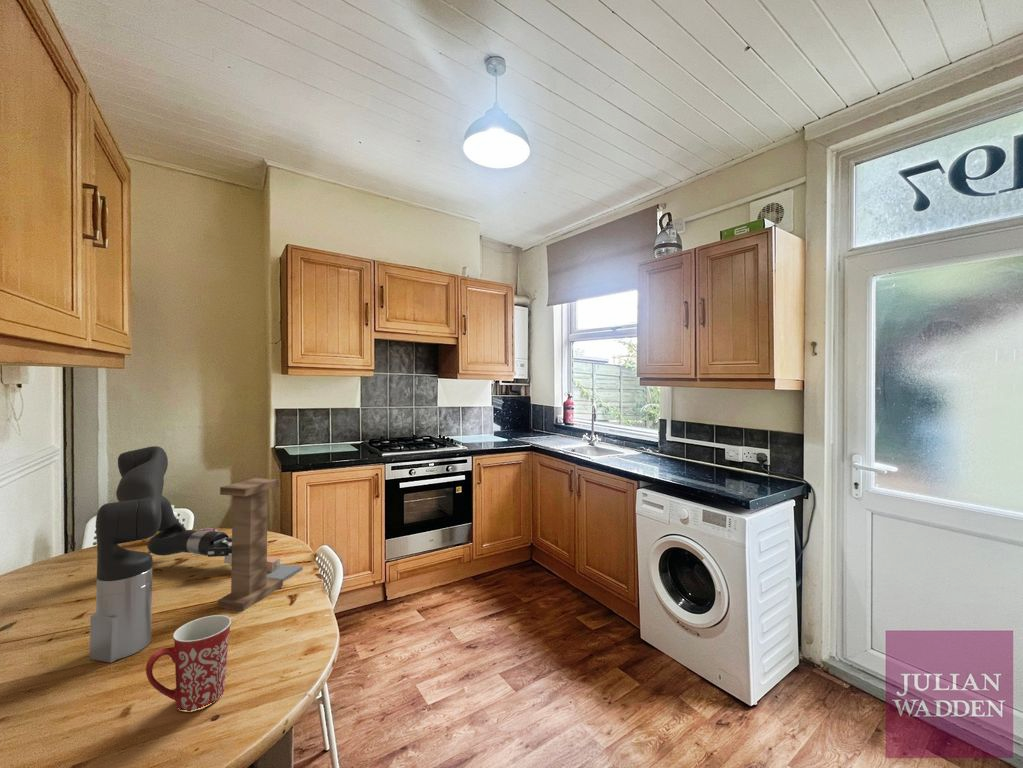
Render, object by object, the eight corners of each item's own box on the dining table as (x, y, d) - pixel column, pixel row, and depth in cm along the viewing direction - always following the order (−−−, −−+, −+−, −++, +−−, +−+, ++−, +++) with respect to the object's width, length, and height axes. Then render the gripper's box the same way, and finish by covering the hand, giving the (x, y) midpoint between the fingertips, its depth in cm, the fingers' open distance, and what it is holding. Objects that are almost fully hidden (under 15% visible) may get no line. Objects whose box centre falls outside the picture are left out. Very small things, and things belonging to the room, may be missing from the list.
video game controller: (218, 548, 155) (225, 529, 158) (209, 547, 151) (216, 527, 154) (194, 547, 156) (201, 528, 159) (184, 546, 151) (192, 526, 155)
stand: (243, 610, 109) (245, 490, 109) (214, 606, 111) (216, 488, 111) (282, 586, 123) (284, 478, 123) (256, 583, 125) (258, 477, 125)
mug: (224, 674, 85) (225, 609, 85) (235, 698, 79) (236, 627, 79) (142, 708, 76) (144, 635, 76) (147, 738, 70) (149, 657, 70)
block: (271, 572, 129) (272, 562, 129) (223, 562, 133) (224, 552, 133) (279, 568, 132) (280, 558, 132) (232, 558, 136) (233, 549, 136)
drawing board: (281, 582, 125) (281, 579, 125) (237, 577, 128) (237, 573, 128) (302, 569, 134) (302, 566, 134) (260, 564, 137) (260, 561, 137)
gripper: (187, 539, 129) (233, 543, 126) (226, 524, 143) (269, 528, 140) (186, 563, 129) (232, 568, 126) (226, 546, 143) (268, 550, 140)
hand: (251, 547), depth 133 cm, fingers open, 4 cm apart
